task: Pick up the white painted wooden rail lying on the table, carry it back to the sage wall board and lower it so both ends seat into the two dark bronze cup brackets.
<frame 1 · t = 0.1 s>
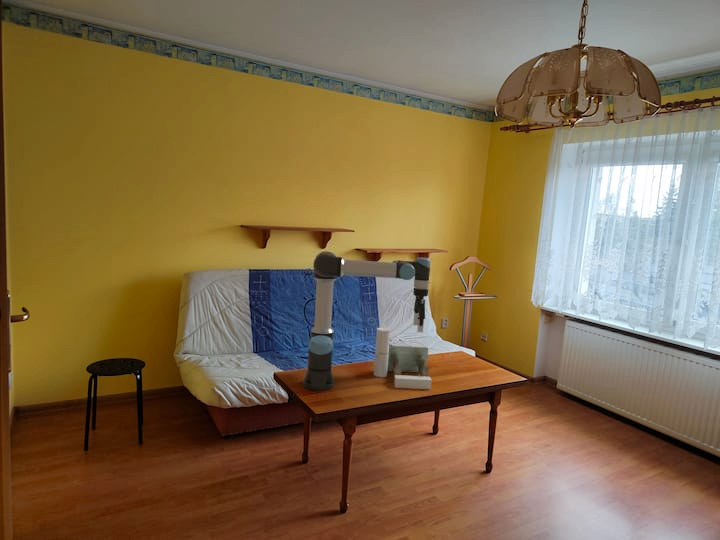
hand: (418, 328, 240), 28 cm above the table, fingers open, 13 cm apart
cylindrical container: (380, 375, 249), on the table
rail: (412, 387, 235), on the table
cup bracket: (409, 378, 245), on the table
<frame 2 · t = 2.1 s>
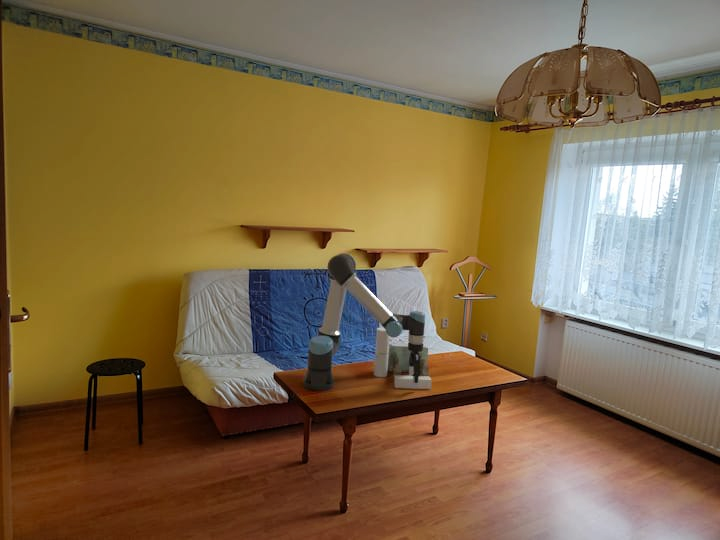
hand: (413, 383, 234), 2 cm above the table, fingers open, 13 cm apart
nothing on the table moved.
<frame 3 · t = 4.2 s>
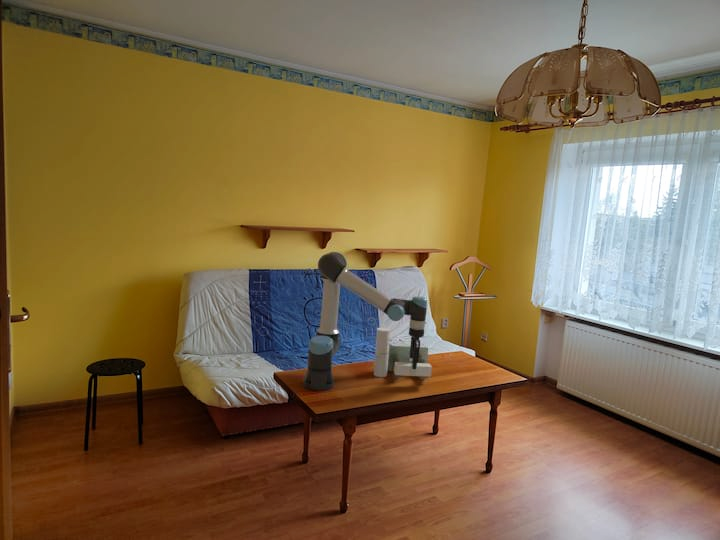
hand: (412, 372, 234), 7 cm above the table, fingers closed on rail, 5 cm apart
rail: (412, 374, 234), point 6 cm above the table, touching gripper
everything else where it was.
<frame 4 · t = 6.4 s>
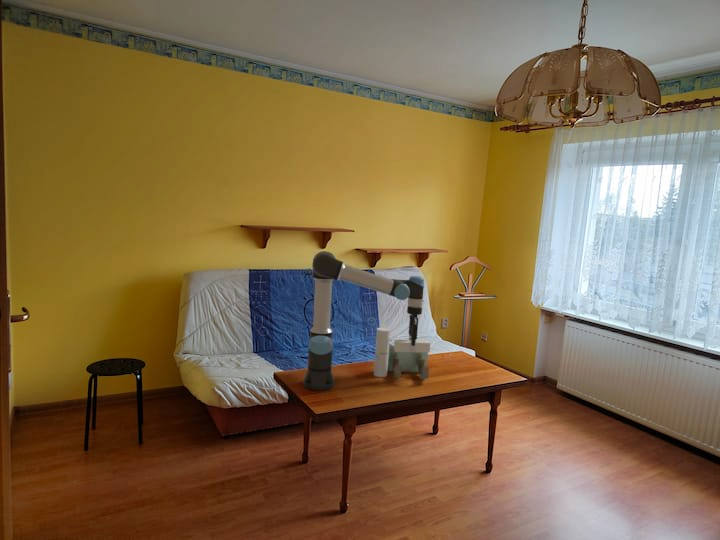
hand: (411, 349, 244), 16 cm above the table, fingers closed on rail, 5 cm apart
rail: (411, 350, 244), point 15 cm above the table, touching gripper
everything else where it was.
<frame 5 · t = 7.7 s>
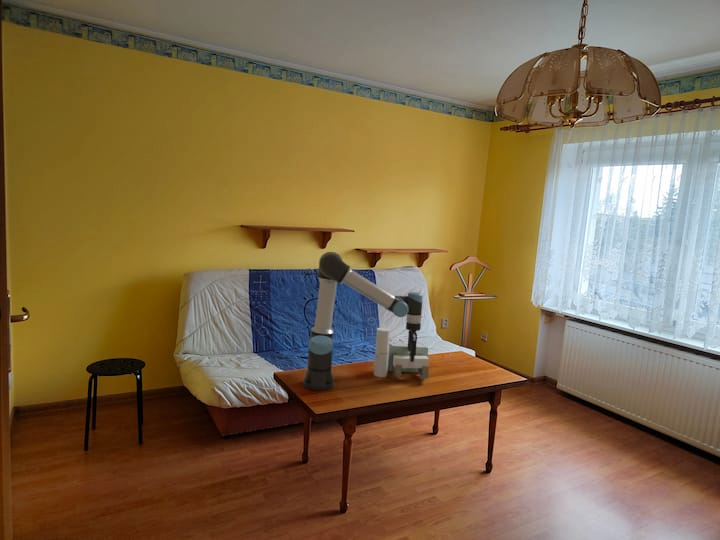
hand: (410, 365, 245), 7 cm above the table, fingers closed on rail, 5 cm apart
rail: (410, 366, 245), point 7 cm above the table, touching gripper
everything else where it was.
when the fingers open (5 cm above the table, at t = 9.0 s): rail stays where it is, resting on cup bracket.
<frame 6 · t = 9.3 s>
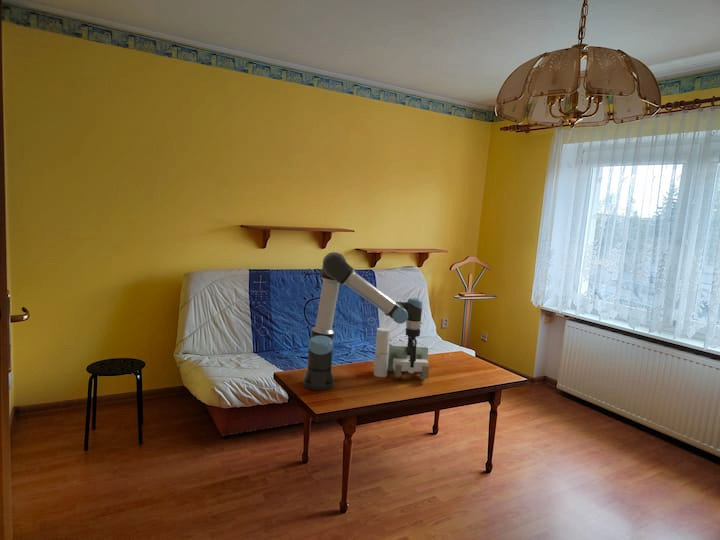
hand: (409, 370, 245), 5 cm above the table, fingers open, 8 cm apart
rail: (410, 369, 245), point 5 cm above the table, touching cup bracket
everything else where it was.
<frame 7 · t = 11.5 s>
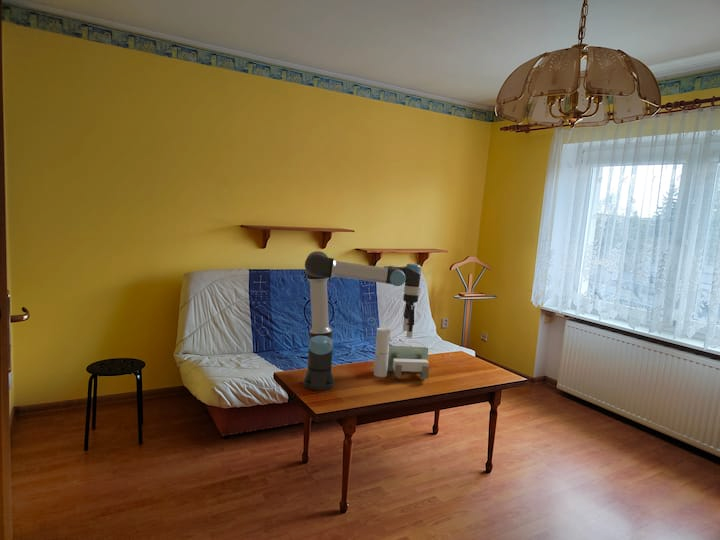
hand: (407, 334, 241), 24 cm above the table, fingers open, 13 cm apart
nothing on the table moved.
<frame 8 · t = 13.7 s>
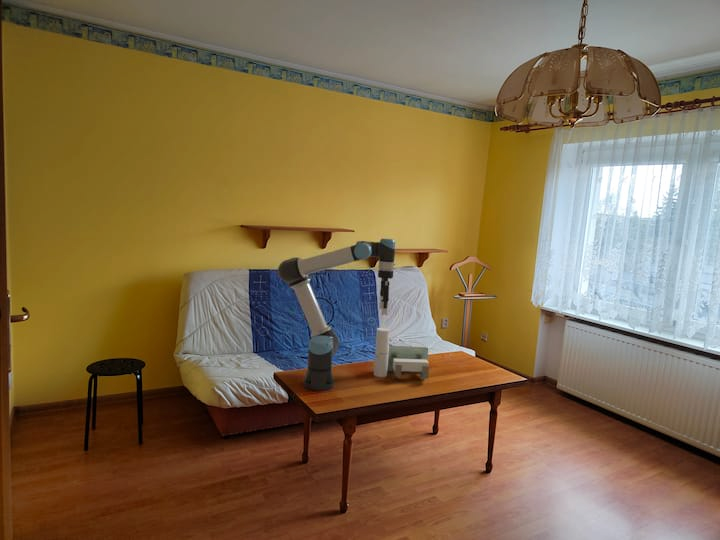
hand: (383, 311, 233), 37 cm above the table, fingers open, 13 cm apart
nothing on the table moved.
at the end: rail inside the target area on the cup bracket (0.2 cm from its centre), point 5.0 cm above the cup bracket's base; the gripper is holding nothing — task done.
